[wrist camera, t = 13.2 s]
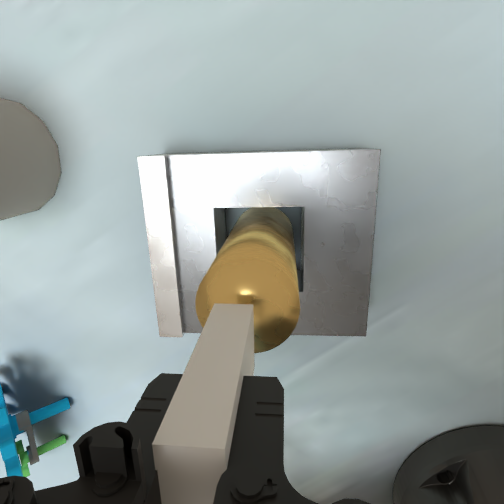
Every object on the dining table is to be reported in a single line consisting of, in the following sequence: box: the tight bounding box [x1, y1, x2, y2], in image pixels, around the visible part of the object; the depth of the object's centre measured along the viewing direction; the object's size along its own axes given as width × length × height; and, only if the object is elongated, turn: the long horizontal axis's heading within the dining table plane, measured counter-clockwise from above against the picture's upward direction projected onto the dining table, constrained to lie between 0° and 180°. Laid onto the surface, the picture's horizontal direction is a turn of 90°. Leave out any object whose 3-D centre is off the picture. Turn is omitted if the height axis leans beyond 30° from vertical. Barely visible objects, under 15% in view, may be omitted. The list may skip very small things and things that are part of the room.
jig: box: [138, 148, 381, 337], centre depth 24 cm, size 14×12×5 cm
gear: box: [0, 384, 70, 477], centre depth 31 cm, size 11×6×10 cm
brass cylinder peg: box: [195, 207, 300, 353], centre depth 20 cm, size 4×4×12 cm
